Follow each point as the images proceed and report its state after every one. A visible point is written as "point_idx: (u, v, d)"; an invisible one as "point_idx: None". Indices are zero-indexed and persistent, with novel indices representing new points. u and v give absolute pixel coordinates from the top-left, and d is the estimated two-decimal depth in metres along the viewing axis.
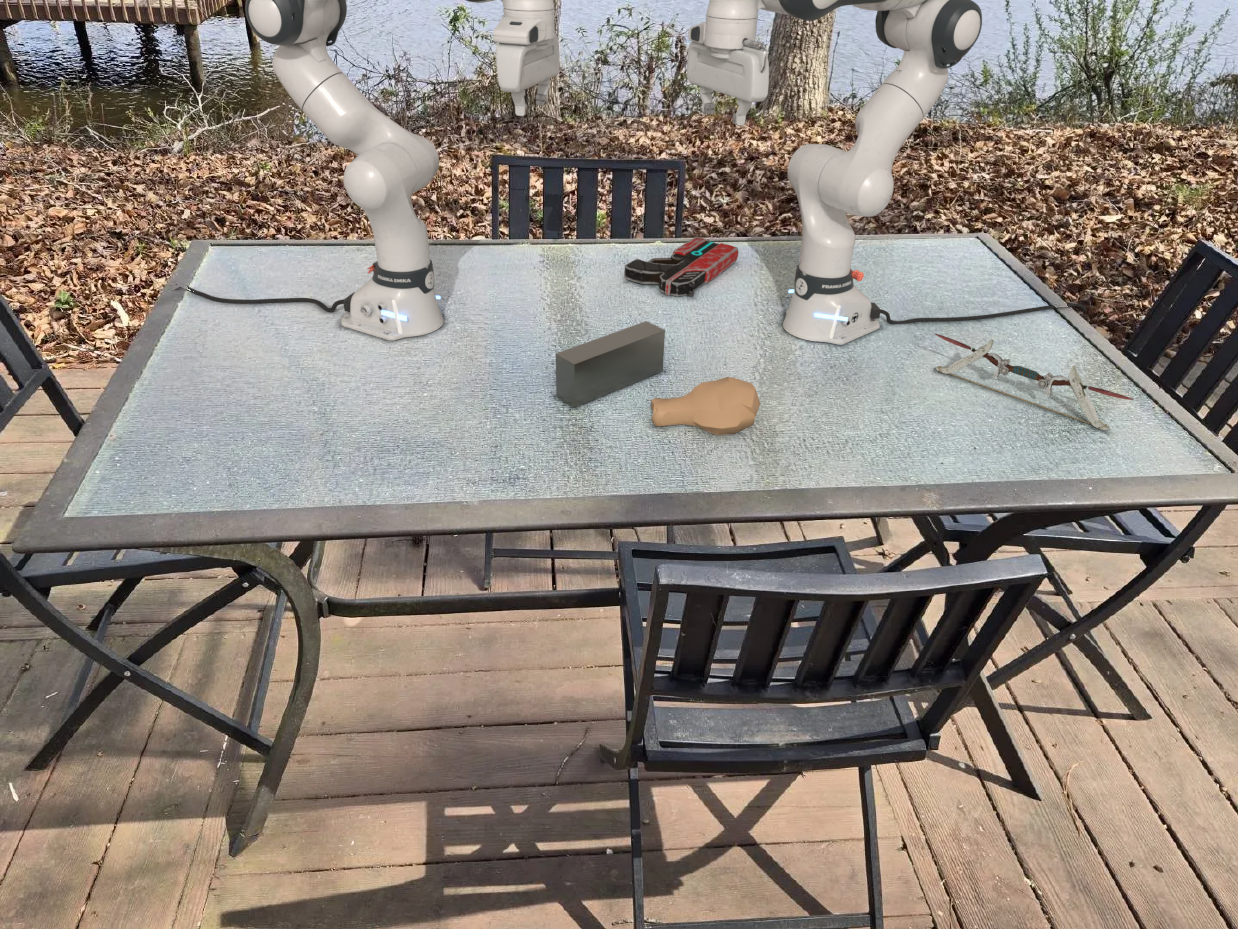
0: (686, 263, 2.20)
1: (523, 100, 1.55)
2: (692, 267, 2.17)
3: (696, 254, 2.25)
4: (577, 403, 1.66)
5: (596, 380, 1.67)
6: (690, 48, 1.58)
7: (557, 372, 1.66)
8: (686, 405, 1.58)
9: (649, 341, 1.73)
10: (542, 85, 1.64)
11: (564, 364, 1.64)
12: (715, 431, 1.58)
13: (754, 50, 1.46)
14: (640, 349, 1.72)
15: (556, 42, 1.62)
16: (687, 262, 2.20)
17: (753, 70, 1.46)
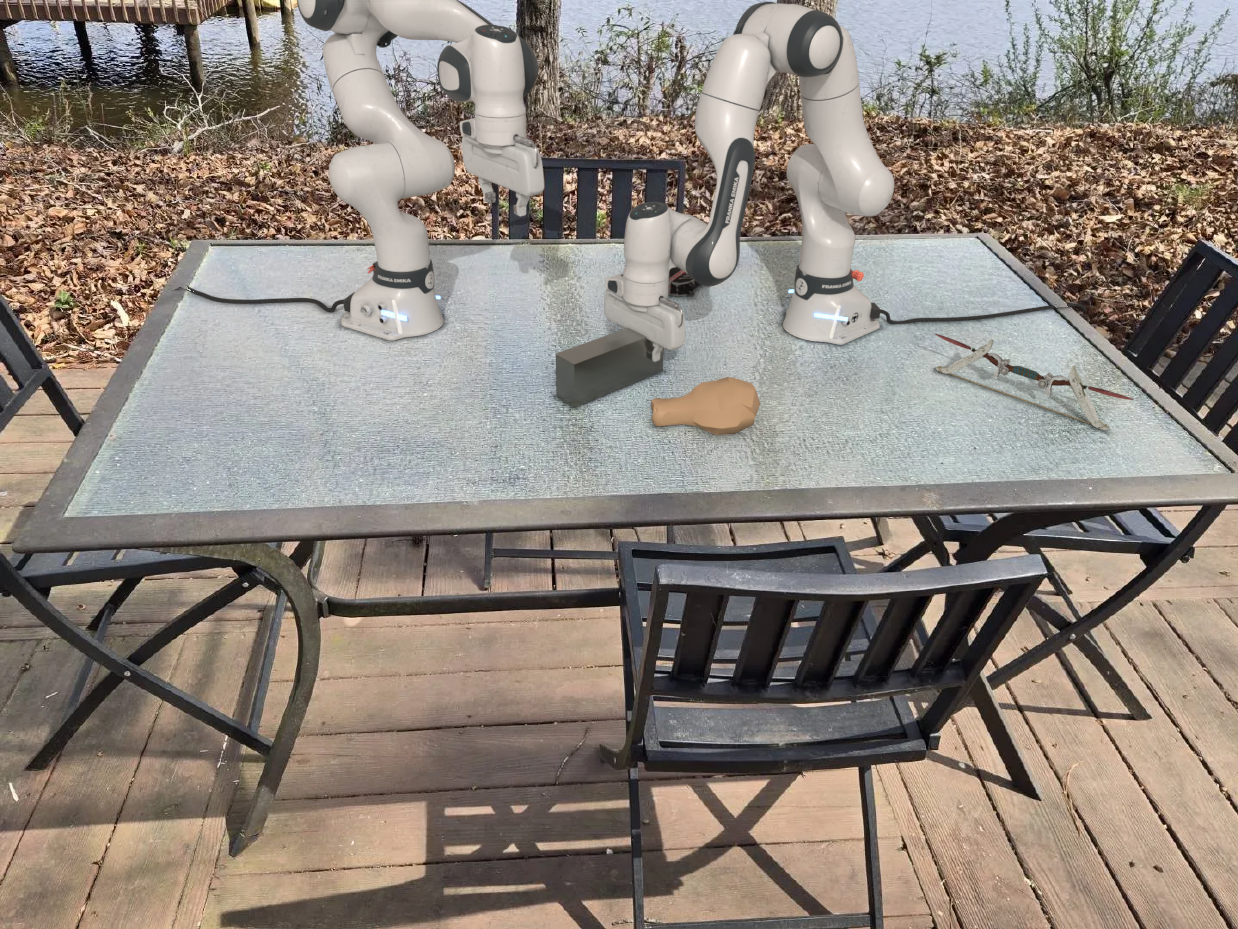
0: None
1: (481, 186, 1.62)
2: None
3: None
4: (577, 403, 1.66)
5: (596, 380, 1.67)
6: (607, 294, 1.75)
7: (557, 372, 1.66)
8: (686, 405, 1.58)
9: (649, 341, 1.73)
10: None
11: (564, 364, 1.64)
12: (715, 431, 1.58)
13: (671, 309, 1.65)
14: (640, 349, 1.72)
15: (521, 161, 1.49)
16: None
17: (673, 327, 1.65)
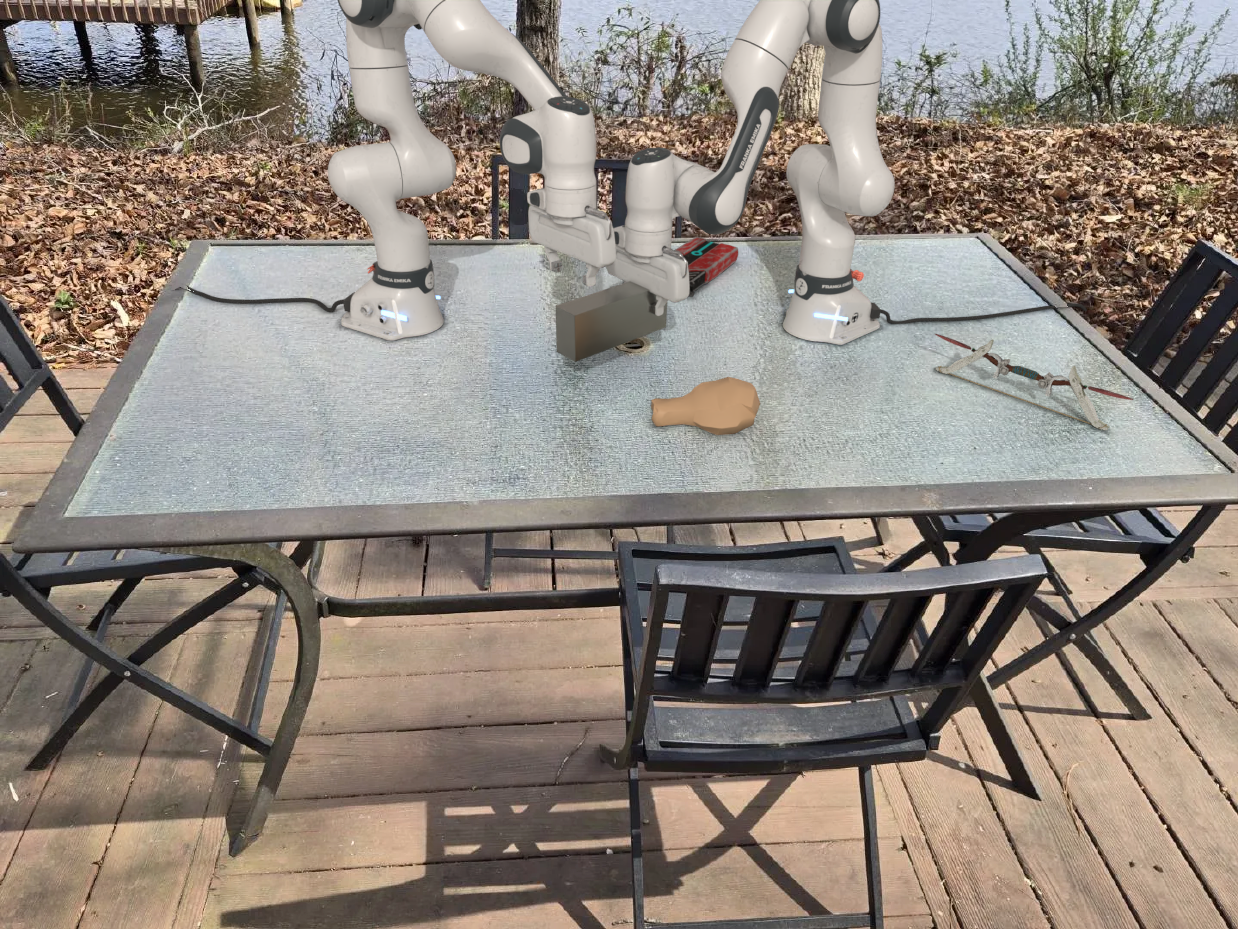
0: None
1: (547, 256, 1.59)
2: (692, 267, 2.17)
3: (696, 254, 2.25)
4: (578, 357, 1.61)
5: (597, 334, 1.62)
6: None
7: (557, 325, 1.61)
8: (686, 405, 1.58)
9: (652, 294, 1.67)
10: None
11: (564, 316, 1.58)
12: (715, 431, 1.58)
13: (674, 259, 1.60)
14: (642, 302, 1.66)
15: (593, 233, 1.46)
16: None
17: (676, 278, 1.60)
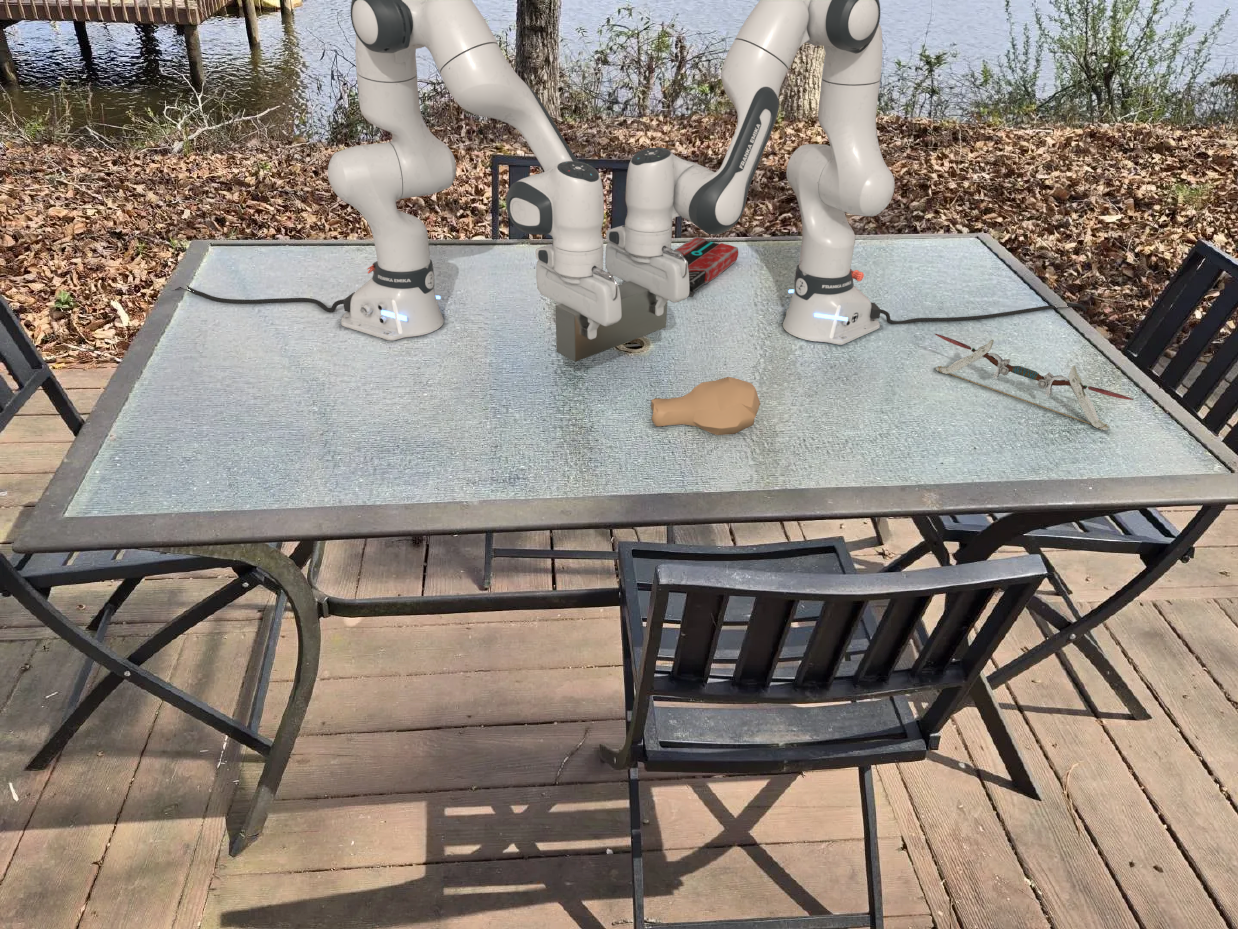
0: None
1: None
2: (692, 267, 2.17)
3: (696, 254, 2.25)
4: (578, 357, 1.61)
5: (597, 333, 1.62)
6: (609, 247, 1.69)
7: (557, 325, 1.61)
8: (686, 405, 1.58)
9: (652, 294, 1.67)
10: None
11: (564, 316, 1.58)
12: (715, 431, 1.58)
13: (674, 259, 1.60)
14: (642, 302, 1.66)
15: (600, 294, 1.50)
16: None
17: (676, 278, 1.60)
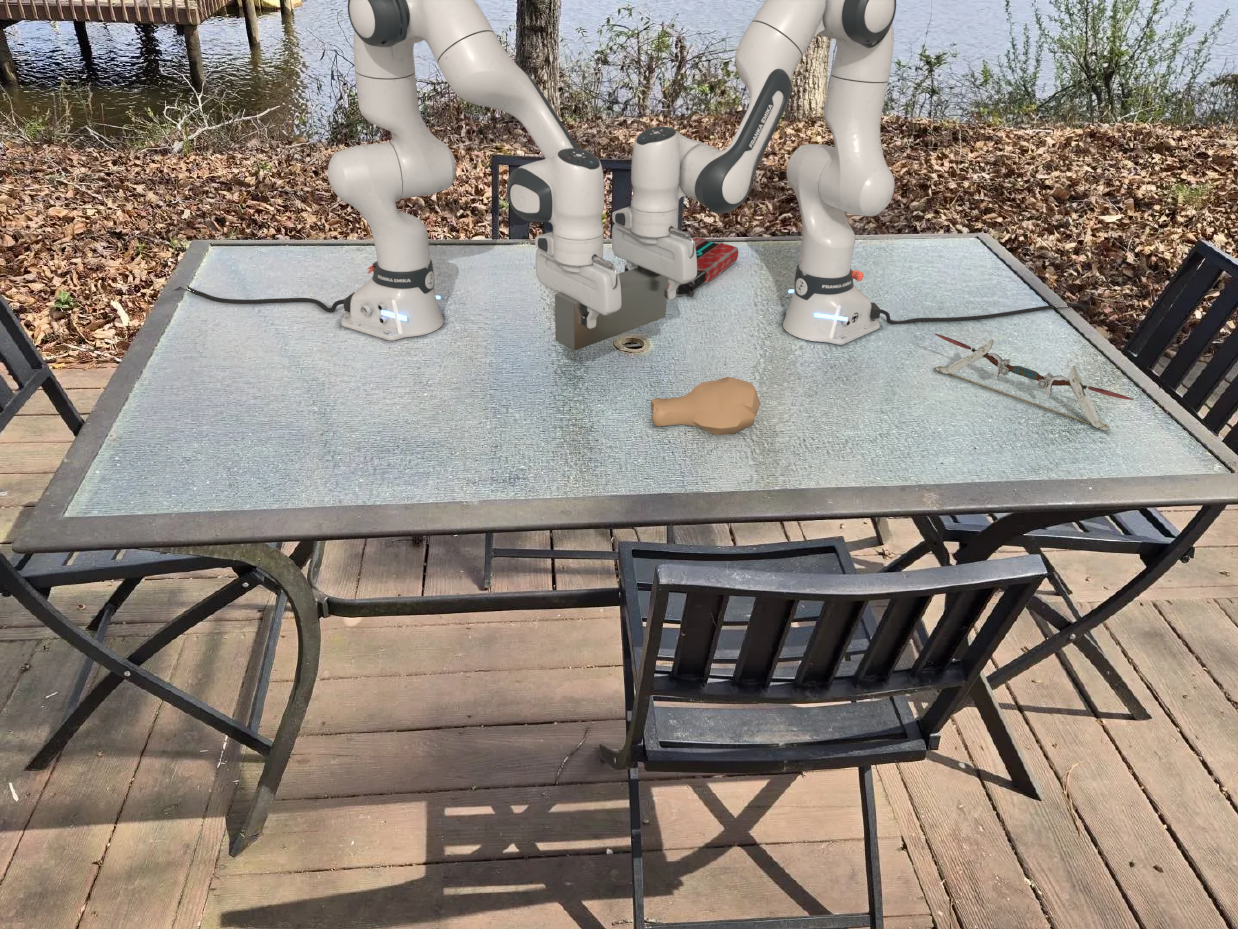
0: None
1: None
2: None
3: (696, 254, 2.25)
4: (577, 346, 1.60)
5: (597, 323, 1.61)
6: (615, 228, 1.68)
7: (556, 314, 1.60)
8: (686, 405, 1.58)
9: (652, 283, 1.66)
10: None
11: (563, 305, 1.57)
12: (715, 431, 1.58)
13: (681, 239, 1.59)
14: (642, 291, 1.65)
15: (600, 283, 1.49)
16: None
17: (684, 258, 1.59)
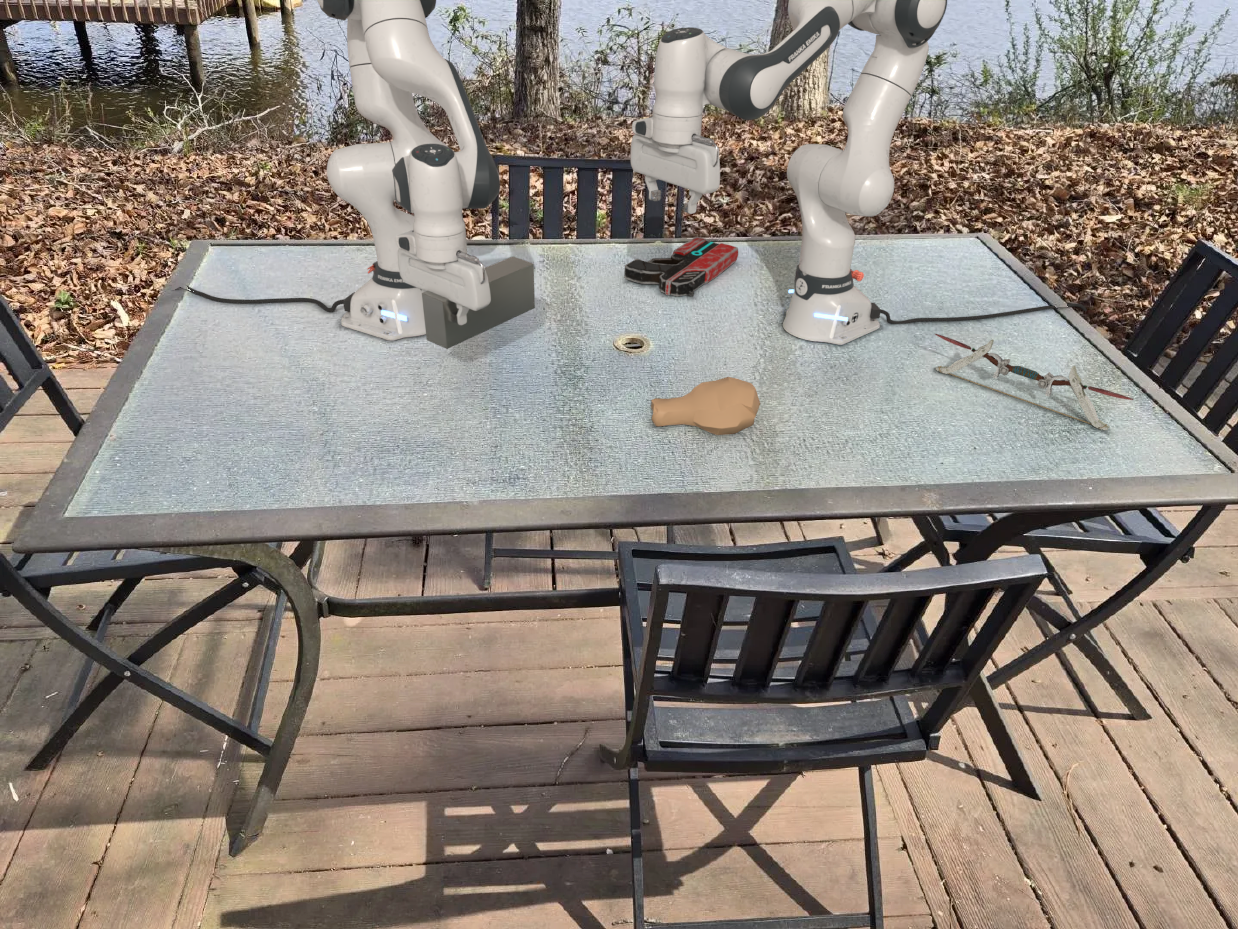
0: (686, 263, 2.20)
1: None
2: (692, 267, 2.17)
3: (696, 254, 2.25)
4: (450, 344, 1.59)
5: (467, 319, 1.60)
6: (635, 140, 1.62)
7: (425, 313, 1.58)
8: (686, 405, 1.58)
9: (518, 275, 1.67)
10: None
11: (432, 303, 1.56)
12: (715, 431, 1.58)
13: (705, 146, 1.53)
14: (509, 284, 1.66)
15: (467, 278, 1.49)
16: (687, 262, 2.20)
17: (707, 166, 1.52)
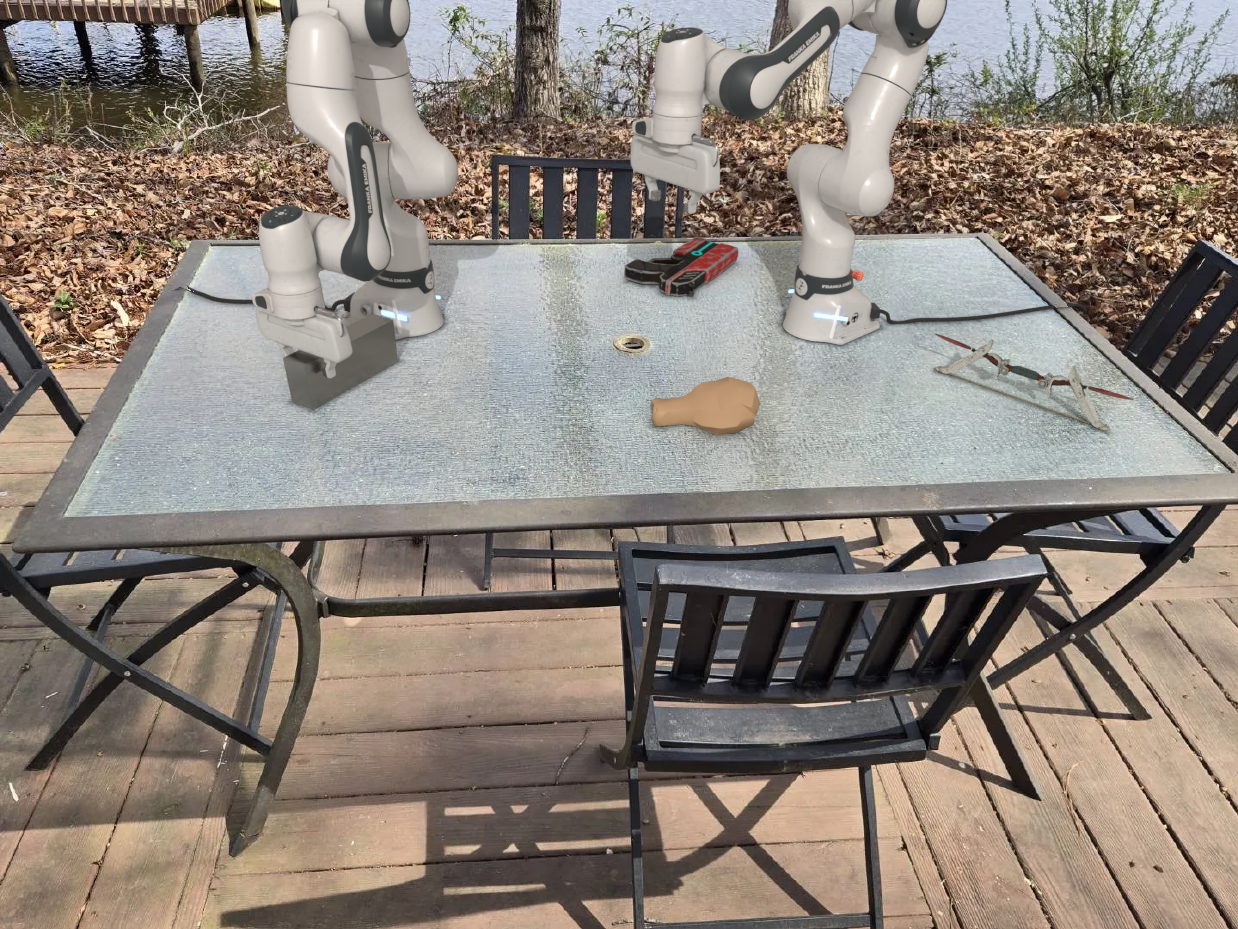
0: (686, 263, 2.20)
1: (282, 350, 1.64)
2: (692, 267, 2.17)
3: (696, 254, 2.25)
4: (315, 404, 1.63)
5: (331, 379, 1.65)
6: (635, 140, 1.62)
7: (288, 376, 1.62)
8: (686, 405, 1.58)
9: (378, 332, 1.73)
10: None
11: (293, 367, 1.60)
12: (715, 431, 1.58)
13: (705, 146, 1.53)
14: (370, 342, 1.71)
15: (327, 333, 1.54)
16: (687, 262, 2.20)
17: (707, 166, 1.52)
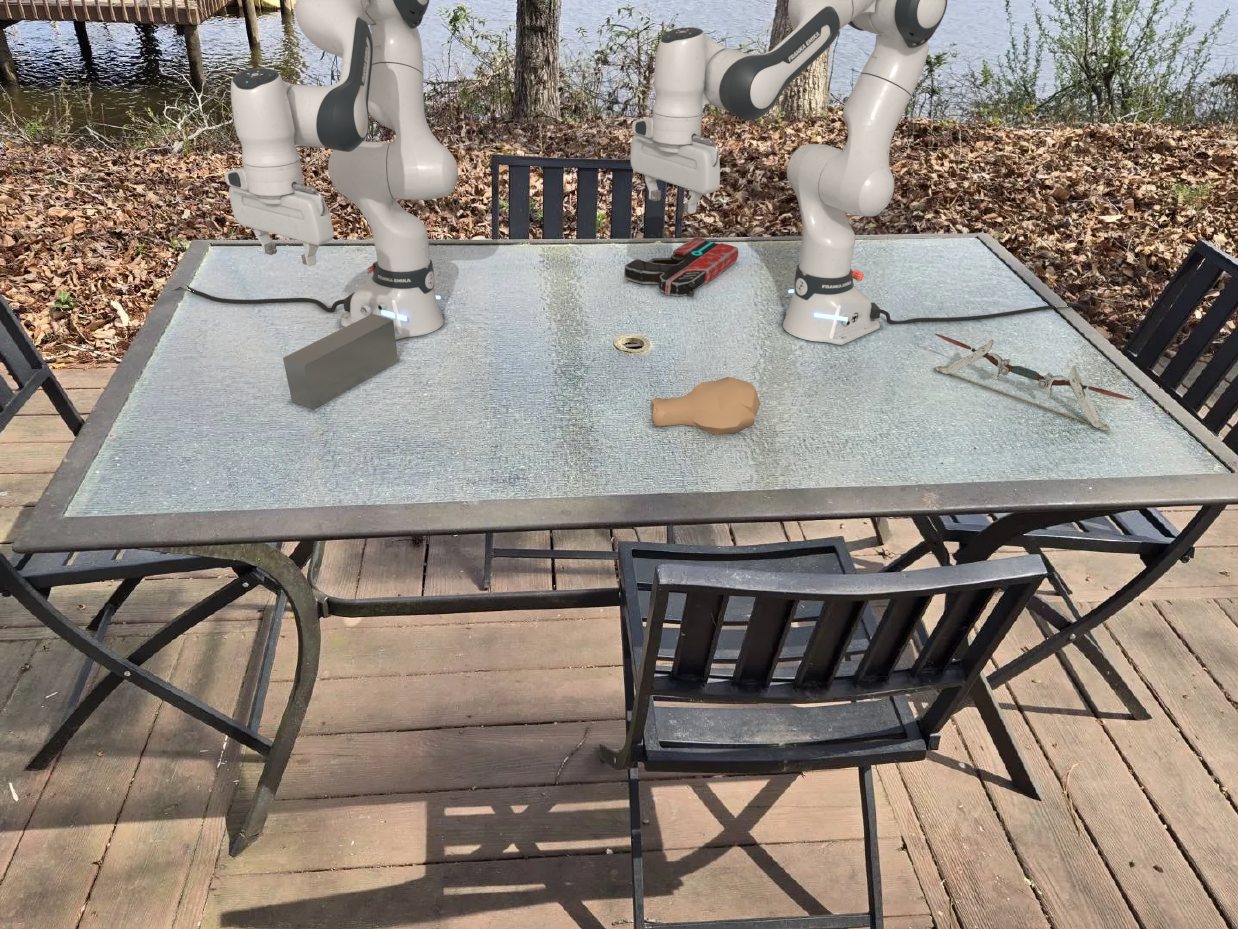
0: (686, 263, 2.20)
1: (258, 238, 1.52)
2: (692, 267, 2.17)
3: (696, 254, 2.25)
4: (315, 404, 1.63)
5: (331, 379, 1.65)
6: (635, 140, 1.62)
7: (288, 376, 1.62)
8: (686, 405, 1.58)
9: (378, 332, 1.73)
10: None
11: (293, 367, 1.60)
12: (715, 431, 1.58)
13: (705, 146, 1.53)
14: (370, 342, 1.71)
15: (306, 210, 1.41)
16: (687, 262, 2.20)
17: (707, 166, 1.52)
